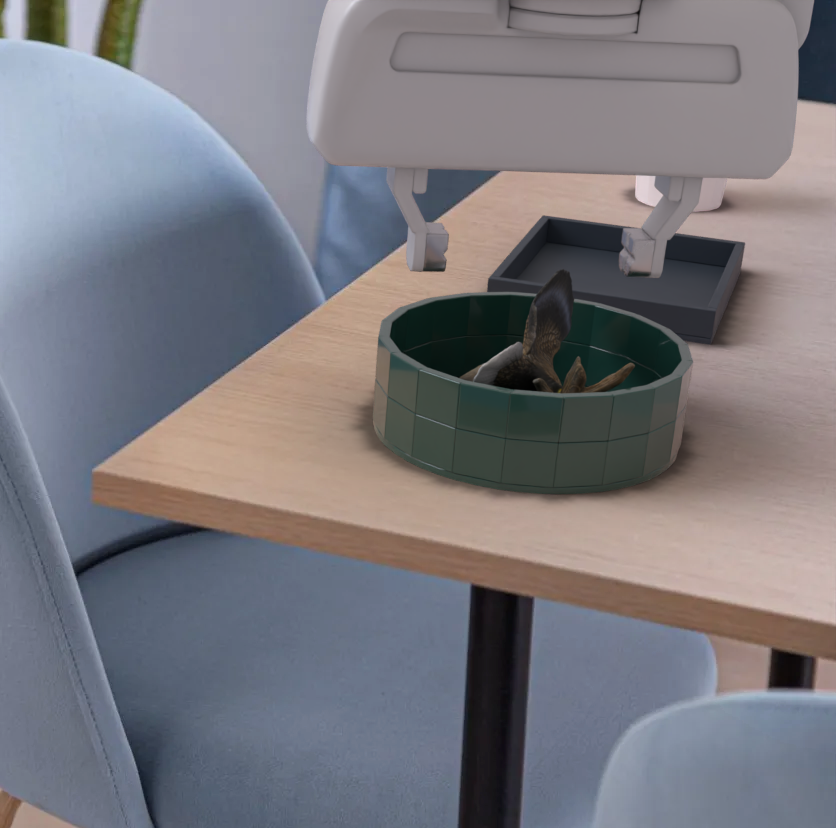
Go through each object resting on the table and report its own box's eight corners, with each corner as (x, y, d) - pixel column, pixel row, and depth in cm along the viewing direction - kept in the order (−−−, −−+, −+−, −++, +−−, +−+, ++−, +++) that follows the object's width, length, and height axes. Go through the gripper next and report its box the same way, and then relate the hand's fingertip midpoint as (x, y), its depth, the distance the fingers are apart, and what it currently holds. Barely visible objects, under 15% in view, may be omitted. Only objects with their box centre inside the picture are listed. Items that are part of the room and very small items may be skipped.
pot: (433, 362, 87) (441, 274, 85) (706, 415, 82) (721, 323, 81) (325, 456, 76) (331, 357, 74) (634, 524, 71) (649, 420, 69)
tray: (539, 247, 106) (542, 214, 106) (740, 275, 103) (745, 242, 102) (484, 314, 94) (488, 278, 94) (710, 348, 91) (716, 311, 90)
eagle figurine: (668, 433, 76) (602, 327, 83) (608, 312, 71) (543, 212, 78) (511, 517, 77) (459, 407, 84) (443, 404, 73) (393, 297, 80)
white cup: (731, 220, 114) (748, 112, 111) (624, 210, 115) (638, 102, 112) (728, 195, 120) (744, 91, 117) (626, 185, 121) (640, 82, 118)
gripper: (795, -63, 74) (741, 255, 80) (312, -87, 72) (294, 243, 78) (852, -41, 68) (790, 299, 74) (330, -66, 66) (308, 288, 72)
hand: (532, 271), depth 76 cm, fingers open, 8 cm apart
